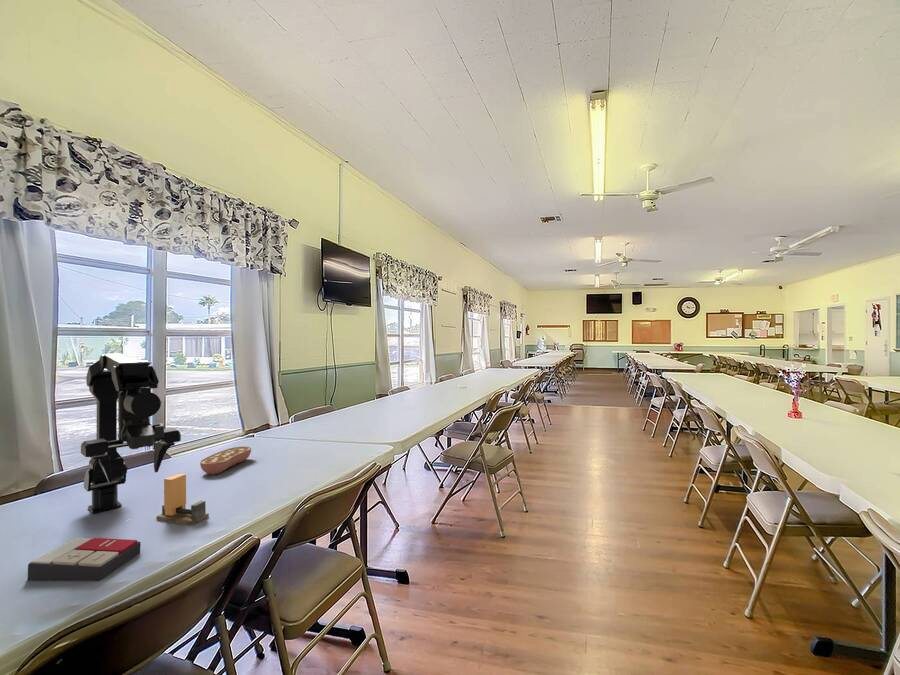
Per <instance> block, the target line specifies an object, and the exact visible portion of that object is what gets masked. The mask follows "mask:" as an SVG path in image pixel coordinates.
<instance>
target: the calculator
mask: <svg viewBox="0 0 900 675" xmlns="http://www.w3.org/2000/svg"><path fill="white" fill-rule="evenodd" d="M141 545H142V544H141V541H138V540H137V539H121V538H108V537H106V538H104V537H93V538H89V537H88V538H87V537H74V538H73V539H71V540H70V541H67V542H65V543H63V544H62V545H60V546H58V547H56V548H54V549H52V550H50V551H49V552H47V553H44V554H43V555H41V556H39V557H37V558H35V559H34V560H32V561H30V562H29V563H28V565H27V581H29V582H48V581H66V582H67V581H68V582H100V581H102V580H104V579H106V578H107V577H109V576H110V575H112V574H113V573H114V572H115V571H117V570H119V569H121V567H123V566H124V565H126V564H127V563H129V562H130V561H131V560H133V559H134V558H135V557H137V556H138V555H140V554H141Z"/></svg>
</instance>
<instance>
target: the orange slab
mask: <svg viewBox="0 0 900 675" xmlns="http://www.w3.org/2000/svg"><path fill="white" fill-rule="evenodd" d="M186 504H187V474H186V473H177V474H174V475H171V476H168V477H166V478H163V505H164V509H165V515H171V516H173V515H175V514H176V508H183V509H187V508H186Z"/></svg>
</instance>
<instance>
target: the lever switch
mask: <svg viewBox="0 0 900 675" xmlns="http://www.w3.org/2000/svg"><path fill="white" fill-rule="evenodd" d="M206 509H207V508H206V500H199V501H198V502H195V503H193V504H191V505H190V509H188V508H186V509H183V508H176V514H175V515H173V516H171V515H165V509H164V504H163V505H161V513H160V514H158V515H156V521H160V522H161V521H162V522H168V523H175V524H182V525H190V526H194V525H195V524H197V523H198V524H199V523H200V522H202V521H204V520H206V519H208V518H210V516H209V513H208V512H206Z"/></svg>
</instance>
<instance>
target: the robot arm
mask: <svg viewBox="0 0 900 675" xmlns="http://www.w3.org/2000/svg"><path fill="white" fill-rule="evenodd" d="M85 377H86V378H85V381H86V386H87V387H88V390H89V391H88V392H89V393H90V394H91V395H92V396H93V398H94V399H95V400H96V437H95V438H96V439H89V440H84V441H82V443H81V445H80V454H81V455H82V456H83V457H85V458H90V459H89V461H88V468H87V469H86V471H85V475H84V478H83V488H84V489H85V491H87V492H91V505H88V506H87V509H88V510H89V511H90V512H91V513H92V514H97V513H101V512H104V511H105V512H106V511H108V510H113V509H116V508H120V507H122V505H123V504H122V503H121V502H120V501H119V499H118V495H119V494H118V493H119V492H118V485H124V484H126V482H127V473H128V469H129V466H127V465H126V463H125V461H124V460H125V459H124V458H123V457H122V455H121V454H119V451H117V449H119V448H124V447H128V448H129V449H130V450H138V449H139V448H145V447H148V448H150V447H153V446H154V448H153V450H154V453H153V470H154V473H158V472H159V469H160V468H161V465H162V461H163V459H164V457H165V455H166V453H167V451H168V450H169V449H170V448H171V447H173V446H175V445H176V443H179V442H181V440H182V436H181V435H182V434H181V431H180V430H178V429H175V428H173V427H169V428H165V425H164V424H163V423H162V422H161V423H154V424H151V423H150V417H152V416H154V415H155V414H156V413H158V412H159V410H160V409H161V404H162V401H161V399H160V397H159V396H158V395H157V394H156V393H153V392H152V389H153V390H154V389H158V385H159V382H160V381H159V378H158V376H157V372H156V370H155V368H154V366H153V365H152V364H151V363H150V361H148V360H132V359H130V358H129V357H127V356H126V355H125V353H124V354H123V353H104V354H101V355H100V357H99V360H97V361H96V362H95V363H93V364H91V365H90V366H89V367H88V369H87V373H86V376H85ZM117 413H118V414H117ZM117 425H118V426H117ZM117 427H118V428H117ZM117 430H118V431H117ZM117 432H118V433H117Z"/></svg>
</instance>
